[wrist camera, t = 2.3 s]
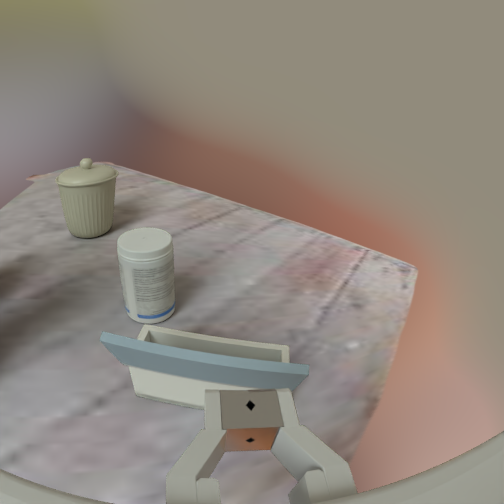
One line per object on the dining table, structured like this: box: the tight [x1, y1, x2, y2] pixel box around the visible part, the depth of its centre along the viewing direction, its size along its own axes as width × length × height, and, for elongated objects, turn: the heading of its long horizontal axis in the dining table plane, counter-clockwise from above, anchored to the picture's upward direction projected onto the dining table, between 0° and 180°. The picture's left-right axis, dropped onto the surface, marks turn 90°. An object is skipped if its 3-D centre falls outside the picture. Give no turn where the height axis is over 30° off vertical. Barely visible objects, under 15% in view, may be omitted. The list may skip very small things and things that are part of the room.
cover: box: [100, 331, 309, 391], centre depth 30 cm, size 20×9×1 cm
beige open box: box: [129, 324, 289, 410], centre depth 39 cm, size 20×7×8 cm, turn 86°
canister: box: [55, 158, 118, 238], centre depth 75 cm, size 18×18×21 cm
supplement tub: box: [117, 227, 175, 324], centre depth 52 cm, size 10×10×15 cm
